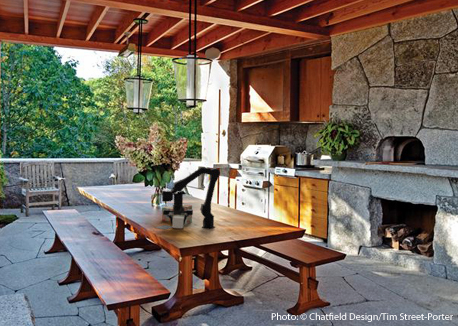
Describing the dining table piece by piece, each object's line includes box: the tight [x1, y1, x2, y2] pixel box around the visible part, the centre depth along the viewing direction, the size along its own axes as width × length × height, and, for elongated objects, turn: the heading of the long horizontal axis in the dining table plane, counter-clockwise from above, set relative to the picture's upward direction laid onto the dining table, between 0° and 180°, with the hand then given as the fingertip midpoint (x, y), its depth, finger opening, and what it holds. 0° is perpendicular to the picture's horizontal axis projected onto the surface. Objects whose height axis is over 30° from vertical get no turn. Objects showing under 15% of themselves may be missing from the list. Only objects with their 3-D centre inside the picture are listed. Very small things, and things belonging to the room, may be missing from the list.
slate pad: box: [154, 224, 173, 231], centre depth 272 cm, size 9×9×1 cm
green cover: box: [173, 215, 188, 226], centre depth 281 cm, size 7×7×6 cm
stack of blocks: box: [161, 203, 193, 225], centre depth 291 cm, size 21×6×12 cm, turn 61°
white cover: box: [171, 216, 185, 229], centre depth 270 cm, size 7×7×6 cm
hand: (178, 225), depth 270 cm, fingers closed on white cover, 7 cm apart
